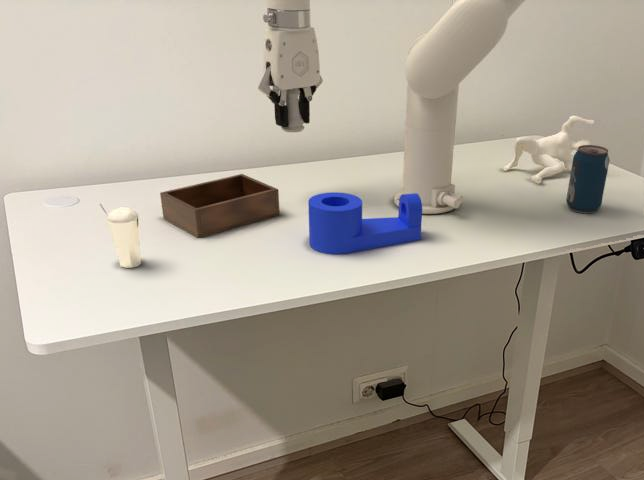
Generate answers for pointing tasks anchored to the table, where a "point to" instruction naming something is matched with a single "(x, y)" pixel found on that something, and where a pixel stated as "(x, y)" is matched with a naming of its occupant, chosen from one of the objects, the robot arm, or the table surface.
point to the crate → (219, 204)
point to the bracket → (359, 224)
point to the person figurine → (550, 149)
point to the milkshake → (125, 235)
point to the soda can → (587, 179)
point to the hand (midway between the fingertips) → (292, 122)
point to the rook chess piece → (293, 112)
